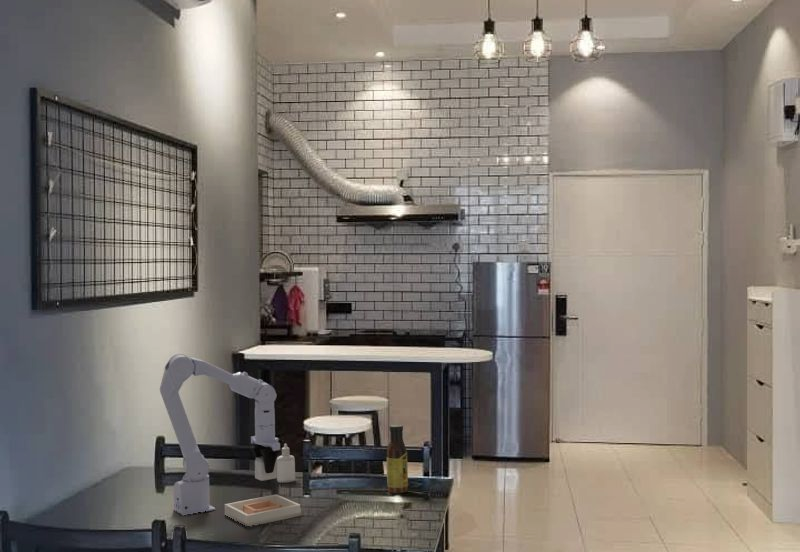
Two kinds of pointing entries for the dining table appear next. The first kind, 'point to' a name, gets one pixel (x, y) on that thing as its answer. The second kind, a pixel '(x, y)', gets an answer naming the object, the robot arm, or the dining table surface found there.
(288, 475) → the eye dropper bottle
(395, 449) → the sauce bottle
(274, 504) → the walled box
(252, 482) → the dining table surface
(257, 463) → the grey plug
